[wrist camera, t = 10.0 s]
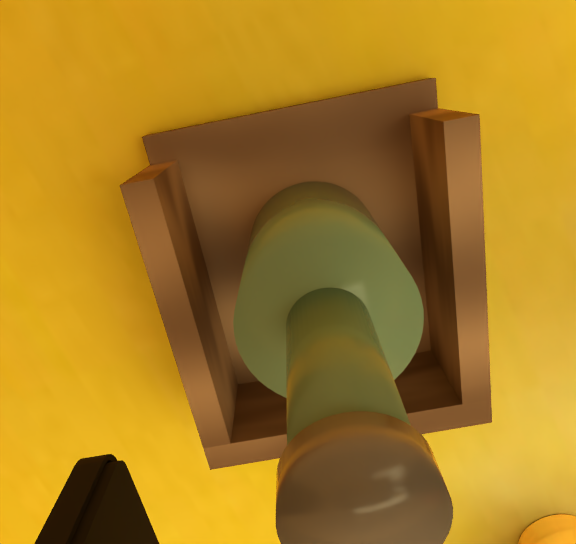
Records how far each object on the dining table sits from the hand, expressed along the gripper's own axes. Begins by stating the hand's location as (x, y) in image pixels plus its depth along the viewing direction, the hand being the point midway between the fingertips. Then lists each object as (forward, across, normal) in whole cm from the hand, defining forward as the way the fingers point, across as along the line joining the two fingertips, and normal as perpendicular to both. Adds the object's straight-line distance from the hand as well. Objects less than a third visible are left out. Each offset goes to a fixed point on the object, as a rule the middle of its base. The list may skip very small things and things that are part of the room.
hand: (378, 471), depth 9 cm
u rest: (+15, 0, +1) cm, 15 cm away
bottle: (+14, 0, 0) cm, 14 cm away
